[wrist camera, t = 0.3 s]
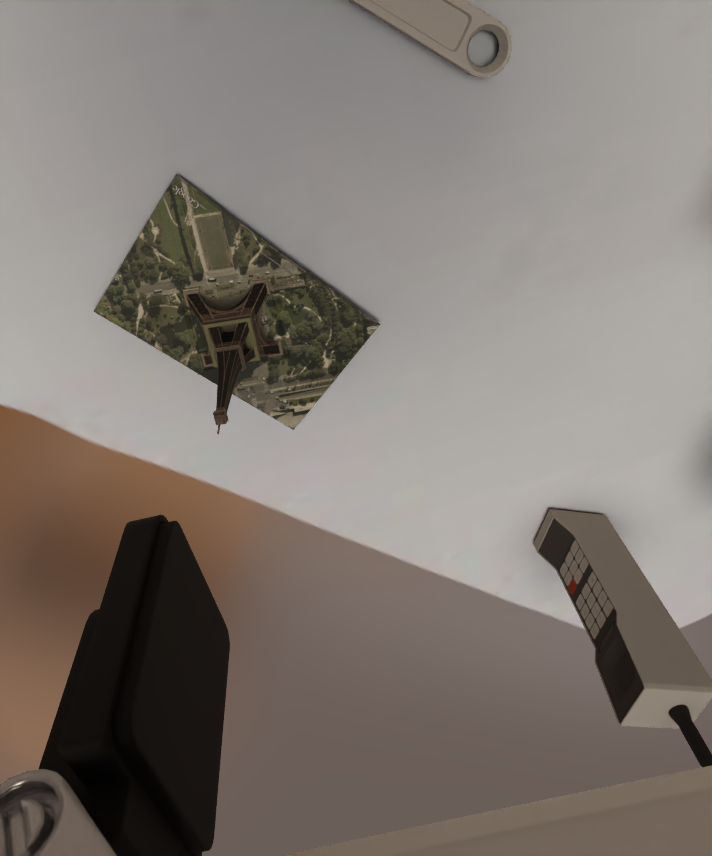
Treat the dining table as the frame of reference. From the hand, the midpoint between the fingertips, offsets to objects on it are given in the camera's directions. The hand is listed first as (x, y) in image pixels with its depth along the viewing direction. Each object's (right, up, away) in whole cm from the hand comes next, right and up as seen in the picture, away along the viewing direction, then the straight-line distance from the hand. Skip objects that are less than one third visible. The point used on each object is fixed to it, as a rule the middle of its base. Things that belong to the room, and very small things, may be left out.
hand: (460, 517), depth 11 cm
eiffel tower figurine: (-9, +9, +30) cm, 33 cm away
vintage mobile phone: (+15, -6, +43) cm, 46 cm away
